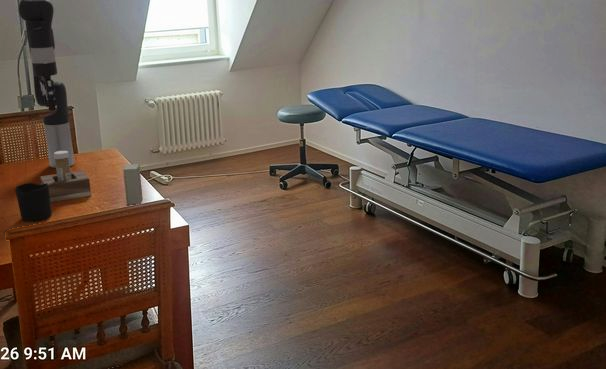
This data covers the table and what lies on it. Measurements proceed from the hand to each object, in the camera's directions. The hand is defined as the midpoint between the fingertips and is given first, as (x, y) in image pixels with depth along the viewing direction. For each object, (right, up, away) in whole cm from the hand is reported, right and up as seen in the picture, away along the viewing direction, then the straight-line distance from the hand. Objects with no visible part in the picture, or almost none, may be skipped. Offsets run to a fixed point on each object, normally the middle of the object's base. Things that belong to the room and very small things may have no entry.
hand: (50, 108), depth 218 cm
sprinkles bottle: (+6, -28, -1) cm, 29 cm away
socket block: (+6, -29, -1) cm, 30 cm away
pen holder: (+5, -36, -22) cm, 43 cm away
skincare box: (+32, -32, -10) cm, 46 cm away
